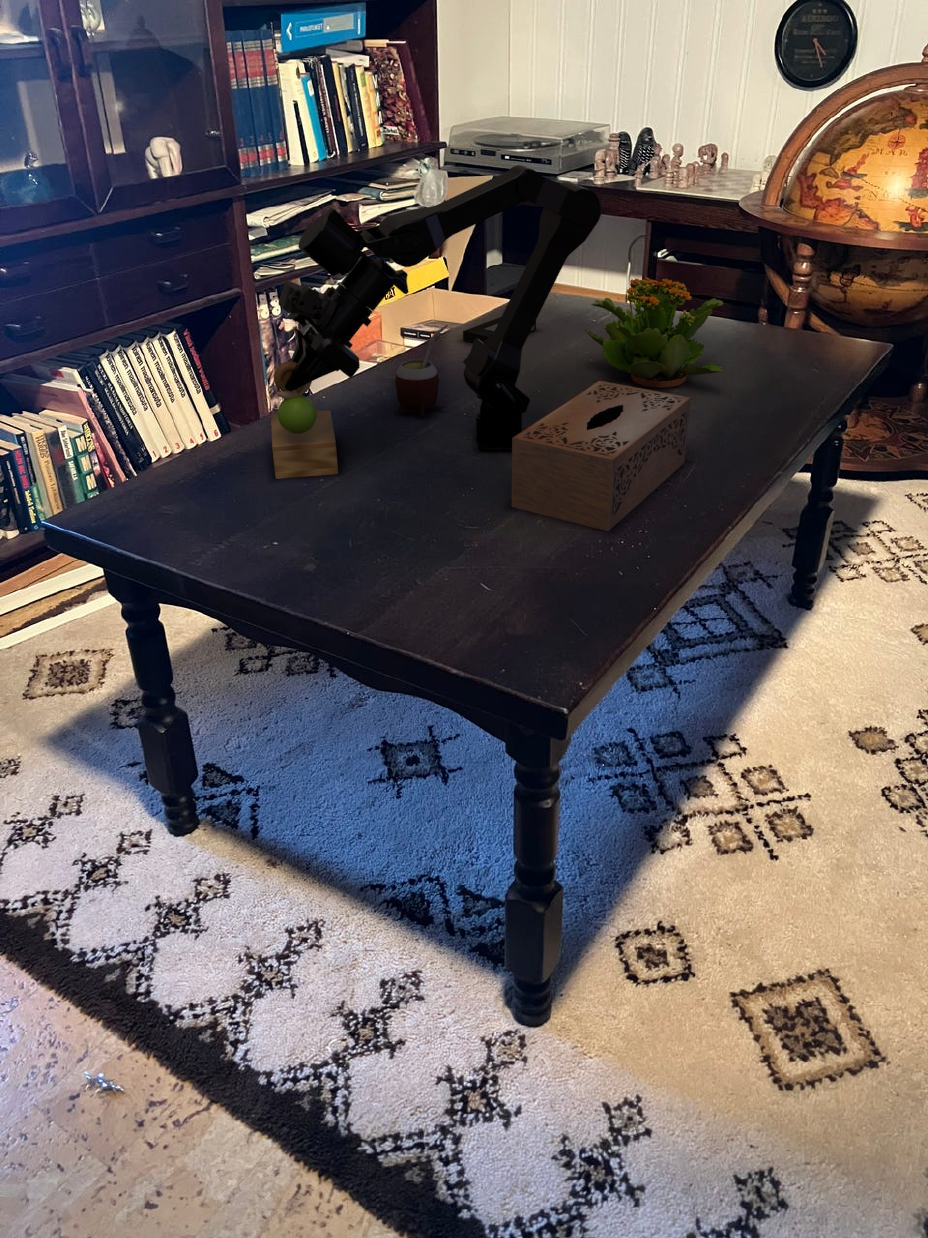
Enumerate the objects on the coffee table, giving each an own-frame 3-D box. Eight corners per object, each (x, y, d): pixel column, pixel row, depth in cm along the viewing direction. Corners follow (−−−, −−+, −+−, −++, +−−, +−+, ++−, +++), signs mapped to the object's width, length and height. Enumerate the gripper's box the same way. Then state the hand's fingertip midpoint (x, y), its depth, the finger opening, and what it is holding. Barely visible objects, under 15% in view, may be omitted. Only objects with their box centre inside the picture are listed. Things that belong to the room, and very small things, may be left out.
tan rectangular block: (332, 440, 164) (330, 409, 161) (338, 474, 153) (335, 441, 150) (274, 444, 162) (271, 414, 160) (275, 479, 151) (272, 446, 149)
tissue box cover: (608, 531, 136) (612, 459, 131) (511, 506, 143) (512, 437, 137) (684, 462, 154) (691, 397, 149) (595, 443, 161) (599, 380, 156)
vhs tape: (536, 330, 212) (536, 320, 210) (493, 348, 202) (493, 337, 201) (506, 324, 216) (506, 314, 215) (463, 341, 206) (462, 330, 205)
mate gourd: (392, 407, 176) (387, 317, 168) (437, 401, 178) (434, 312, 170) (404, 422, 170) (399, 330, 162) (450, 416, 172) (448, 324, 164)
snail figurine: (331, 432, 149) (320, 349, 142) (289, 443, 147) (276, 359, 140) (316, 419, 153) (305, 339, 146) (275, 430, 151) (261, 348, 144)
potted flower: (758, 386, 181) (773, 283, 172) (657, 416, 170) (667, 308, 161) (658, 351, 199) (666, 255, 190) (561, 375, 188) (564, 275, 179)
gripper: (296, 244, 146) (228, 332, 149) (327, 275, 131) (250, 373, 134) (356, 295, 152) (289, 379, 155) (391, 330, 137) (317, 422, 140)
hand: (285, 386), depth 146 cm, fingers closed on snail figurine
